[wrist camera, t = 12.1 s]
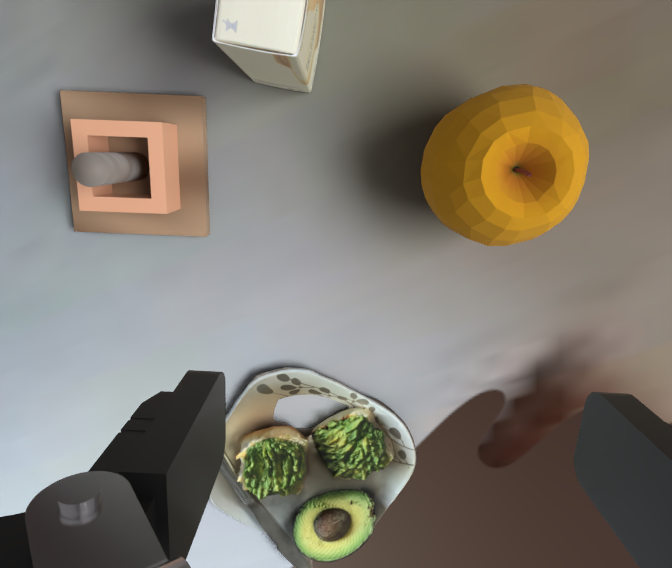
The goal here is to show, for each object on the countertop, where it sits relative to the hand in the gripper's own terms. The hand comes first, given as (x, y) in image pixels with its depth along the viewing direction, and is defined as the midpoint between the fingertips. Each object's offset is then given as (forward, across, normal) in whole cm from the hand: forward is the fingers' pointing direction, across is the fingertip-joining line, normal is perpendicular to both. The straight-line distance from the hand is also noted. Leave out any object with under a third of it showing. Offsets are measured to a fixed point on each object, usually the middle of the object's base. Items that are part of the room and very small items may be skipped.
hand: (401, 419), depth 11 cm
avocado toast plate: (+29, +3, +21) cm, 36 cm away
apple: (+28, -8, -5) cm, 30 cm away
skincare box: (+28, +6, -13) cm, 32 cm away
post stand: (+28, +16, -4) cm, 33 cm away
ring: (+27, +16, -4) cm, 32 cm away
